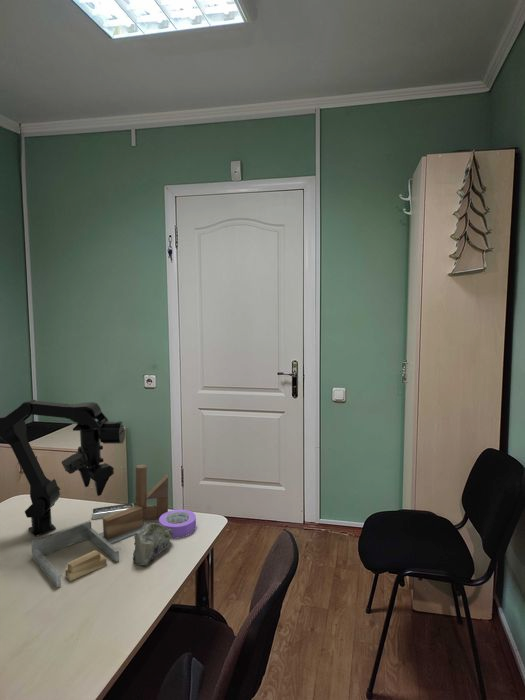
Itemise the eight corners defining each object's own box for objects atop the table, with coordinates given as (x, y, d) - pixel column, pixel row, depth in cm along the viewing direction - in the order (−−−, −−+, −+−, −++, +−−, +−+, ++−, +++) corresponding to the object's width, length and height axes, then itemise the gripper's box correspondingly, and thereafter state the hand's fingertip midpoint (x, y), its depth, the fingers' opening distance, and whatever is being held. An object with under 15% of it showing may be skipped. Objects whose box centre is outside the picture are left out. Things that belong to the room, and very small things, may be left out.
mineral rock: (171, 539, 138) (170, 508, 136) (182, 557, 128) (181, 524, 127) (128, 551, 132) (127, 518, 130) (136, 570, 122) (135, 535, 121)
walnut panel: (103, 536, 139) (102, 517, 138) (138, 522, 147) (137, 505, 147) (107, 539, 137) (107, 521, 136) (143, 525, 145) (142, 508, 144)
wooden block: (167, 518, 151) (168, 466, 149) (134, 521, 148) (134, 468, 146) (167, 513, 154) (167, 462, 153) (134, 516, 151) (135, 464, 150)
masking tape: (193, 517, 151) (193, 507, 151) (198, 535, 140) (198, 523, 140) (158, 522, 148) (158, 511, 148) (160, 540, 137) (159, 529, 137)
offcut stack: (65, 575, 120) (64, 562, 119) (101, 560, 127) (100, 547, 126) (70, 581, 117) (69, 567, 117) (107, 565, 124) (106, 552, 124)
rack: (32, 557, 128) (31, 541, 128) (90, 535, 140) (89, 520, 139) (57, 587, 115) (55, 569, 114) (119, 560, 127) (118, 543, 126)
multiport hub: (92, 514, 154) (92, 508, 154) (136, 508, 159) (136, 502, 159) (92, 520, 150) (92, 514, 150) (137, 513, 155) (136, 507, 155)
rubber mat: (97, 535, 140) (97, 534, 140) (137, 519, 150) (137, 518, 150) (108, 545, 134) (108, 544, 134) (150, 528, 144) (150, 527, 144)
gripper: (52, 442, 141) (55, 489, 143) (76, 457, 128) (79, 509, 130) (87, 434, 149) (89, 479, 151) (113, 448, 136) (115, 497, 138)
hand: (92, 490), depth 142 cm, fingers open, 9 cm apart
